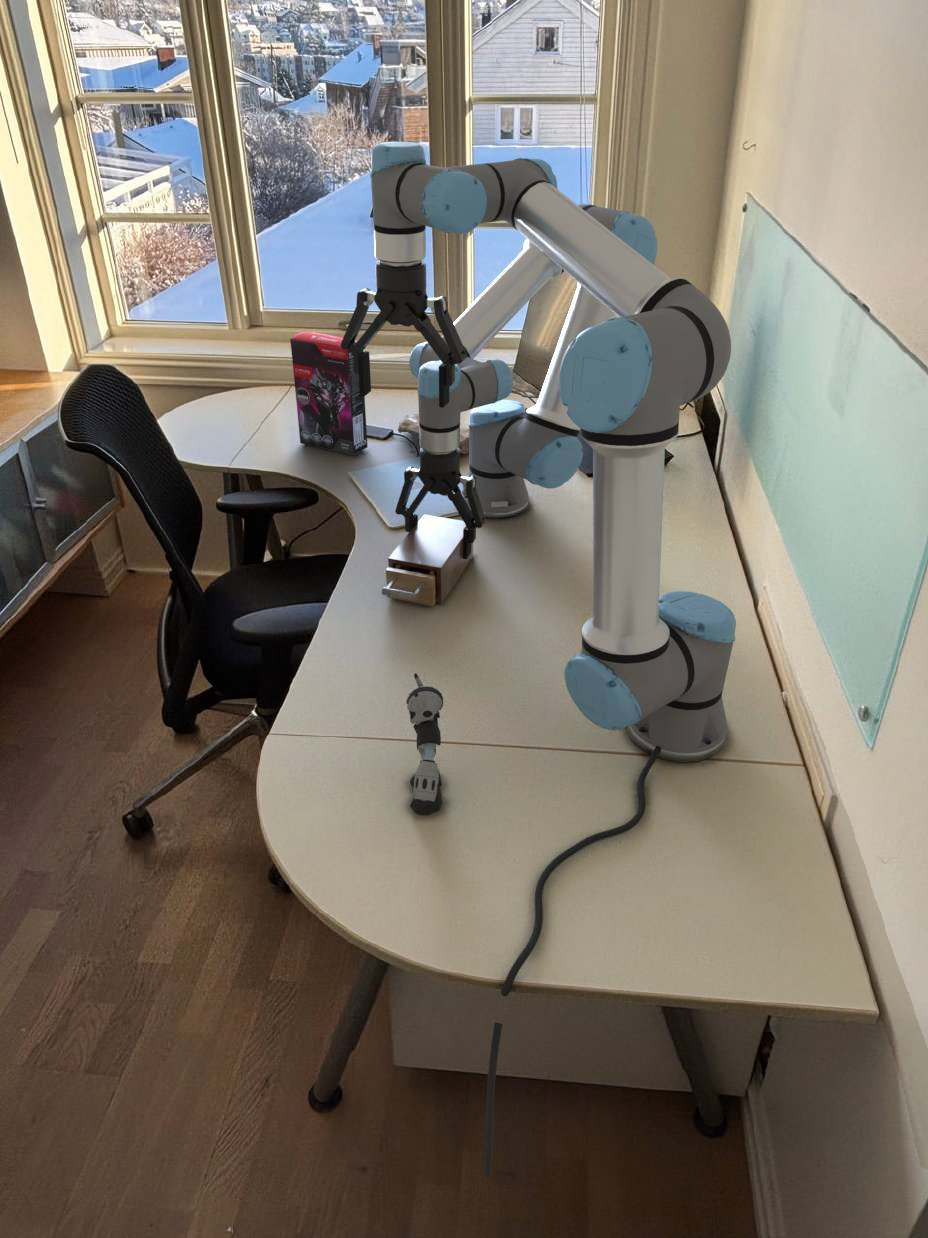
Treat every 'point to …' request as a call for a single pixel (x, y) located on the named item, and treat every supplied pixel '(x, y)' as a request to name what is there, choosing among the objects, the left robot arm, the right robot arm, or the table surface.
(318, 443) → the graphics card box
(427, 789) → the robot
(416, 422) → the stone
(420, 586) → the drawer
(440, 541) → the cabinet
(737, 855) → the table surface
